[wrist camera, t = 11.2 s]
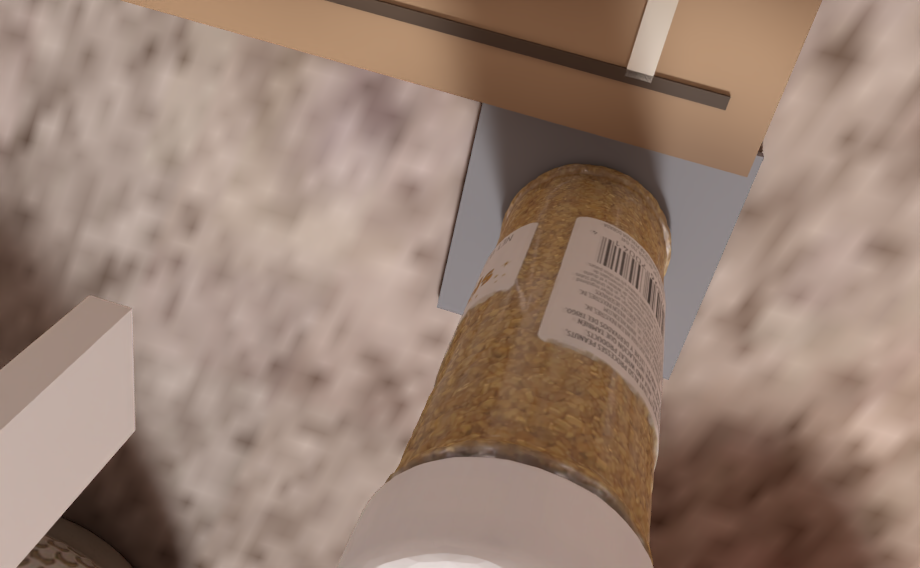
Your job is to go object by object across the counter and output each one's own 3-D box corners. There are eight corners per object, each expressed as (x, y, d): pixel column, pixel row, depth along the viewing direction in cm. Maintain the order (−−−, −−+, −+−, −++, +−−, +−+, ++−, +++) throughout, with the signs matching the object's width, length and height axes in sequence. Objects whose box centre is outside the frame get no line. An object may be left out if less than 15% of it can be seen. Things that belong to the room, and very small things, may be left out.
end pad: (490, 76, 21) (487, 80, 21) (763, 152, 20) (763, 157, 20) (439, 302, 25) (436, 307, 24) (668, 373, 24) (668, 379, 24)
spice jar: (480, 186, 22) (252, 573, 11) (647, 136, 20) (585, 536, 9) (536, 327, 24) (391, 790, 12) (695, 293, 22) (694, 795, 11)
